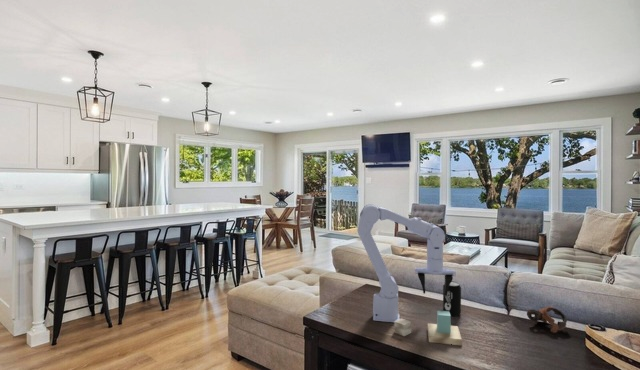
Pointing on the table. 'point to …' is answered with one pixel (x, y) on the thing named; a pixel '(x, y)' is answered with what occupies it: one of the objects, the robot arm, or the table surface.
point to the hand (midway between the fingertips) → (434, 293)
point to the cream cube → (402, 327)
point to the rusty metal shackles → (548, 318)
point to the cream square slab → (444, 335)
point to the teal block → (443, 322)
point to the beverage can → (452, 299)
